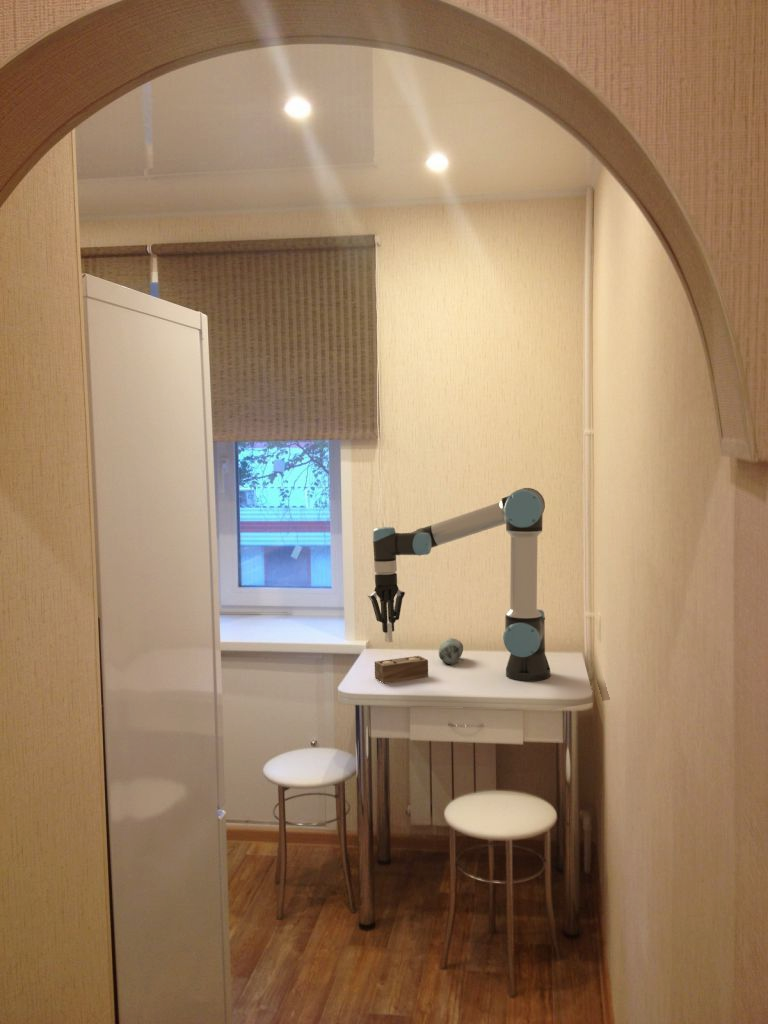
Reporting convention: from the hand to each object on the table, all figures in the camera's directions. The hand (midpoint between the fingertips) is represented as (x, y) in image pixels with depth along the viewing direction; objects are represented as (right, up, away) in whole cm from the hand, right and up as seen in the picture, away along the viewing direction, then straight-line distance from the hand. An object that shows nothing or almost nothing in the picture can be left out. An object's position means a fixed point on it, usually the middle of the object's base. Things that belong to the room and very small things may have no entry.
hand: (388, 641), depth 305 cm
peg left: (0, -13, +1) cm, 13 cm away
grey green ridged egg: (+23, -11, +25) cm, 36 cm away
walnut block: (+4, -13, +3) cm, 14 cm away
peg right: (+9, -13, +5) cm, 16 cm away
